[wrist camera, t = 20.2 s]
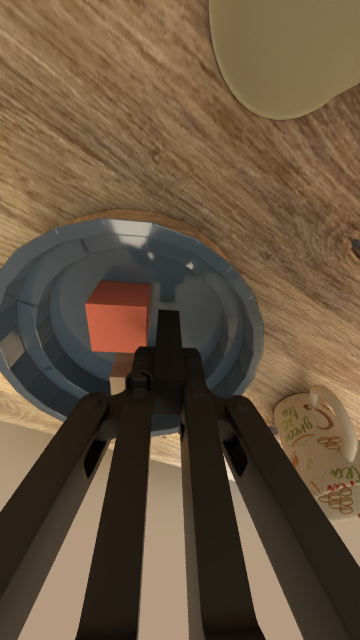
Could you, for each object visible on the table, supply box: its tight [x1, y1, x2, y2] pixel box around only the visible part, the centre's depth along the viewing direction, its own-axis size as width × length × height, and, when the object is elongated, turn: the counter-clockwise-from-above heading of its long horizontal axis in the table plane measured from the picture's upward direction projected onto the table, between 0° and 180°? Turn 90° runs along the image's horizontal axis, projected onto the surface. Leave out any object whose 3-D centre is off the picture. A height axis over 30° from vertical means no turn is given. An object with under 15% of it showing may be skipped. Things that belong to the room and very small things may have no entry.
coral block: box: [85, 281, 151, 353], centre depth 17 cm, size 4×4×4 cm
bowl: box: [0, 209, 264, 437], centre depth 19 cm, size 20×20×5 cm
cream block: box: [109, 352, 135, 395], centre depth 21 cm, size 4×4×4 cm
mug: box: [273, 385, 360, 522], centre depth 23 cm, size 8×13×10 cm, turn 11°
